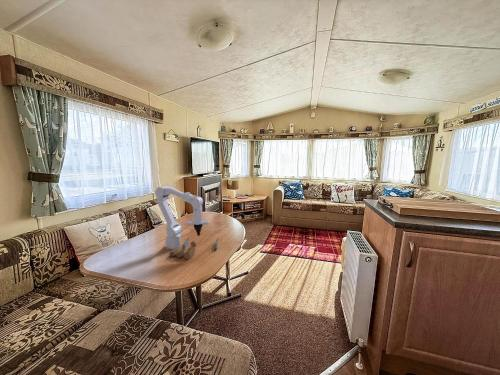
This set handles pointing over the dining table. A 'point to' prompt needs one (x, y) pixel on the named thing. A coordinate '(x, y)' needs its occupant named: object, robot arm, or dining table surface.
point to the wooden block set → (181, 251)
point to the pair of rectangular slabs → (188, 244)
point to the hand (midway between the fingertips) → (198, 235)
